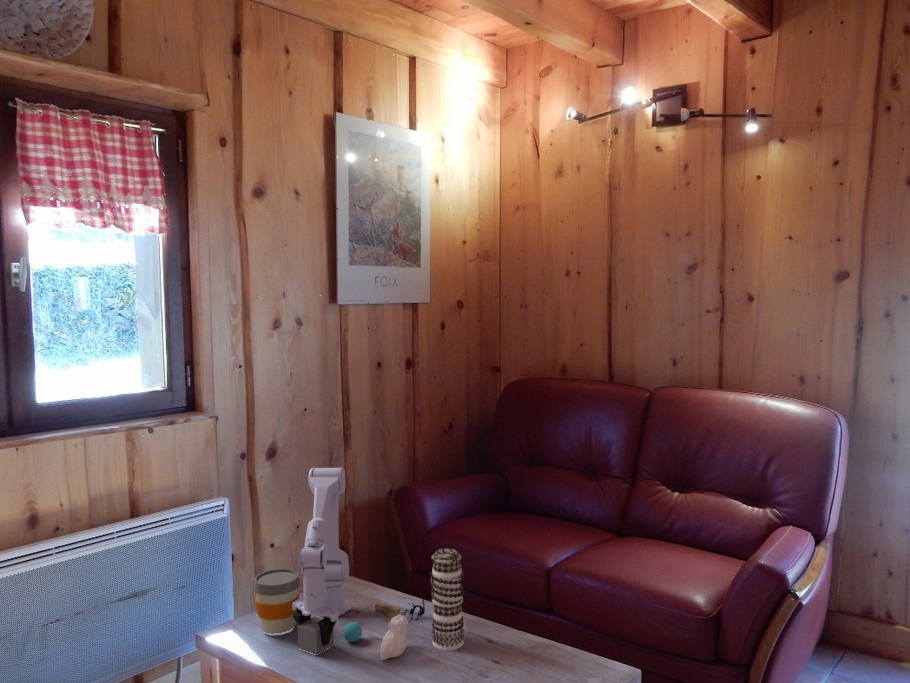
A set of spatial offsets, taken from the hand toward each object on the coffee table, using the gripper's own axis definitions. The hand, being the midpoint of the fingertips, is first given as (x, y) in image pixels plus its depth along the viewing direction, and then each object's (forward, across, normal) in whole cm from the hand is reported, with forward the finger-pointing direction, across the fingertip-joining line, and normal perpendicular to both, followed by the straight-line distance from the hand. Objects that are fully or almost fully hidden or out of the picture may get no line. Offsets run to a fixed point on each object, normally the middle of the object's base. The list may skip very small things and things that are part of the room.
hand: (315, 641), depth 187 cm
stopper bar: (+2, +4, +26) cm, 26 cm away
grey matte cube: (+2, 0, 0) cm, 2 cm away
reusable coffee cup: (+2, -17, +3) cm, 17 cm away
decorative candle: (+2, +29, +20) cm, 35 cm away
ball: (-1, +6, +8) cm, 10 cm away
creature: (+2, +12, +28) cm, 30 cm away
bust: (+2, +20, +8) cm, 22 cm away
